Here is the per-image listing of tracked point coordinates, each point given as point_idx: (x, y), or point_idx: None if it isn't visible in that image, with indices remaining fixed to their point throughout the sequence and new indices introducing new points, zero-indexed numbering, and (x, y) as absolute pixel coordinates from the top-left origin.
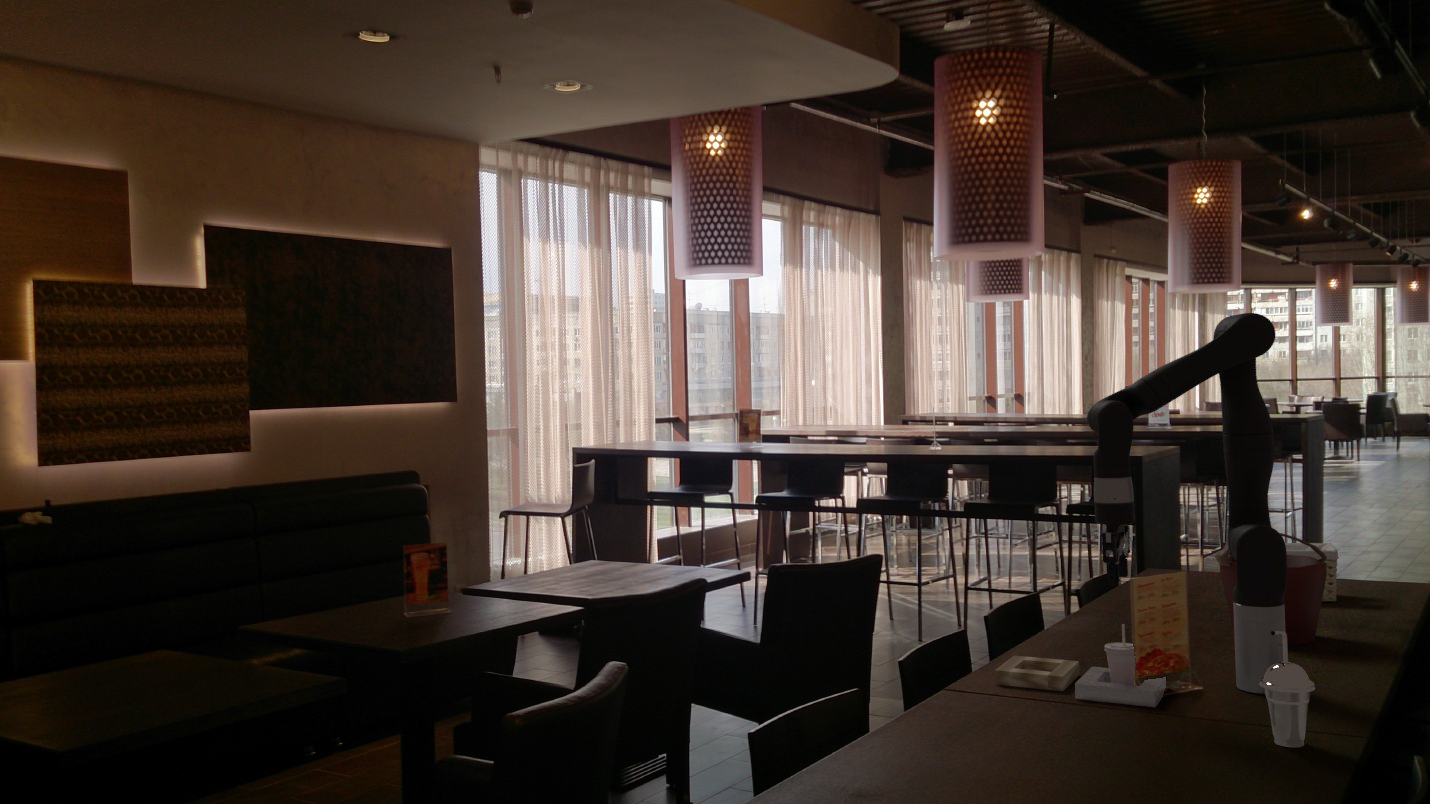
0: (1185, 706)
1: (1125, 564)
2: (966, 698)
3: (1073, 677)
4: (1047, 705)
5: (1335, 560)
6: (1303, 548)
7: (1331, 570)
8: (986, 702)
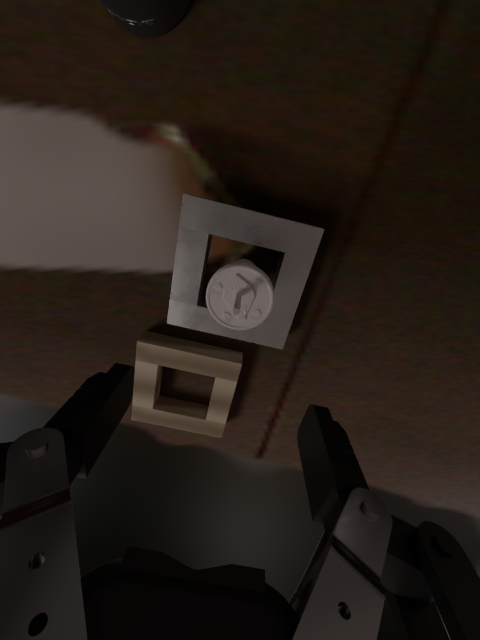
0: (308, 172)
1: (102, 411)
2: (292, 446)
3: (180, 341)
4: (316, 370)
5: None
6: None
7: None
8: None
